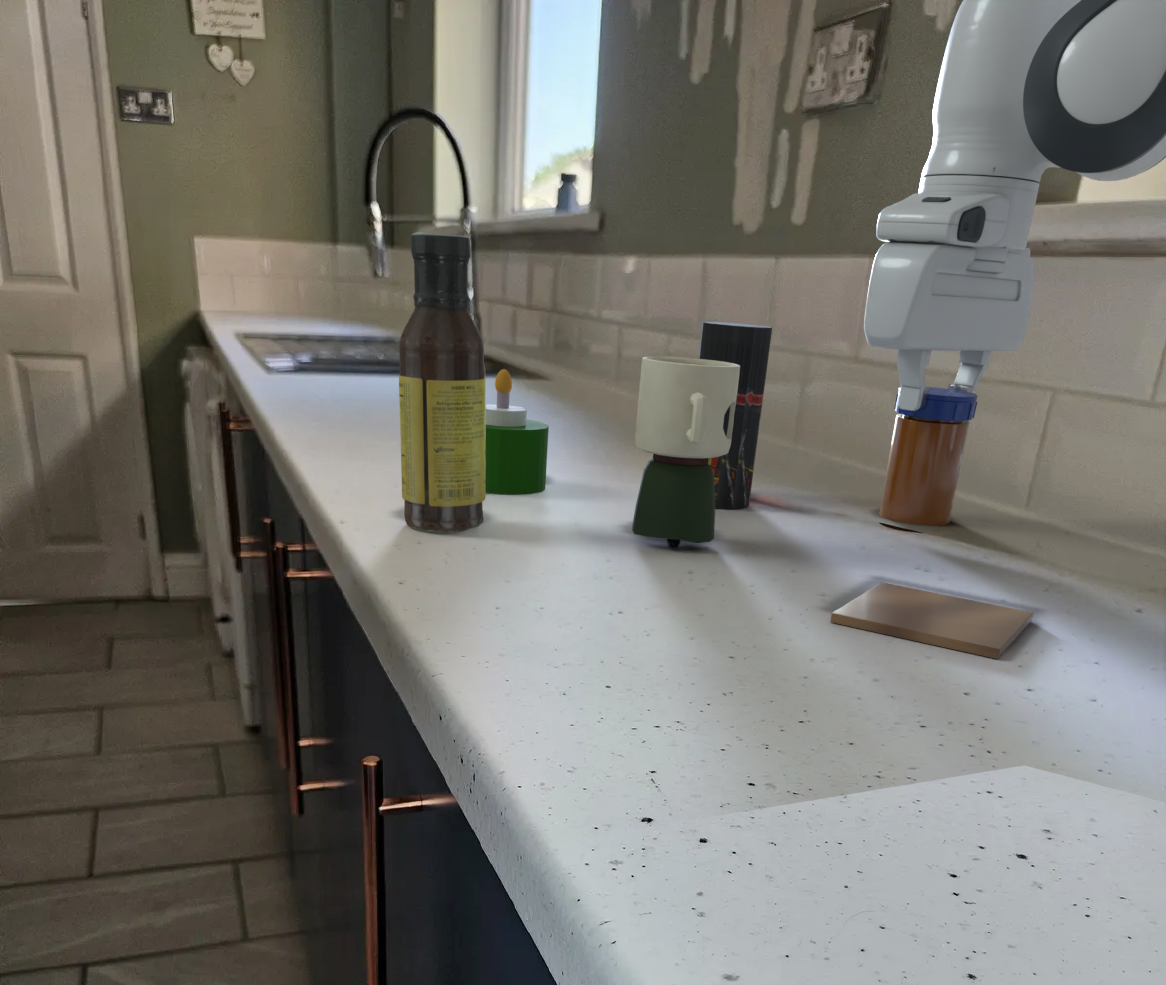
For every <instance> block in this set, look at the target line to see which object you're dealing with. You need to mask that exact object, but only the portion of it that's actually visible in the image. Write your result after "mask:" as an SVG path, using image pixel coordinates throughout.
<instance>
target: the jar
mask: <svg viewBox="0 0 1166 985" xmlns="http://www.w3.org/2000/svg"><path fill="white" fill-rule="evenodd" d="M970 423H971V422H970V420H969V421H945V420H934V419H925V418H918V417H912V416H907V415H903V414H900V413H897V414H896V416H895V421H894V427H893V432H892V439H891V443H890V450H889V456H888V462H887V466H886V467H887V468H886V473H885V480H884V484H883V490H882V491H883V492H882V497H881V502H880V509H879V515H880V516H881V517H882V518H885V519H888V520H892V521H896V522H898V523H899V522H900V523H905V524H912V525H921V526H945V525H948V524H950V523H951V517H952V514H953V508H954V503H955V498H956V493H957V488H958V484H959V478H960V472H961V468H962V464H963V459H964V454H965V448H966V443H967V439H968V434H969V429H970ZM878 524H879V525H881V526H883V527H885V528H888V529H892V530H897V531H901V532H905V533H906V532H907V533H916V534H924V532H922V531H918V530H915V529H909V528H906V527H901V526H897V525H896V526H895V525H892V524H888V523H884V522H879V521H878Z"/></svg>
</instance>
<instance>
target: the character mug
mask: <svg viewBox="0 0 1166 985" xmlns="http://www.w3.org/2000/svg"><path fill="white" fill-rule="evenodd" d="M640 365H641V367H640V378H639V388H638V399H637V400H638V401H637V410H636V411H637V412H636V423H635V435H634V447H636V448H637V449H639V450H641V451H643V452H645V453H648V454H652V458H651V459H649V460H648V462H647V463H646V465H645V467H644V469H643V472H642V476H641V480H640V485H639V490H638V494H637V498H636V501H635V502H636V503H635V506H634V514H633V518H632V523H631V524H632V525H631V531H632V533H633V534H634V535H638V536H641V537H647V538H655V539H667V540H671V545H672V546H673V547H678V546H679V545H680V543H681V541H683V542H689V543H693V544H694V543H695V544H703V543H710V542H711V541H713V540H714V539H715V527H716V508H715V486H714V473H713V470H712V467H711V466H710V465H711V458H714V457H719V456H722V455H725V454H727V453H728V452H729V449H730V446H731V440H732V430H733V421H734V413H735V406H736V398H737V390H738V382H739V374H740V365H737V364H734V363H729V362H722V361H715V360H705V359H699V358H693V357H684V356H667V355H666V356H664V355H663V356H662V355H651V356H643V357H642V359H641V364H640Z"/></svg>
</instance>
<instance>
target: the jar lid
mask: <svg viewBox="0 0 1166 985" xmlns="http://www.w3.org/2000/svg"><path fill="white" fill-rule="evenodd" d="M925 387H926V388H930V390H929V395H928V398H927V405H926V407H925V408H924V409H923V410H916V411H910V410H904V409H900V407H899V405H898V401H899V396H900V390H901V386H899V387H898V393H896V398H895V402H894V408H893V410H894V411H895V413H897V414H903V415H907V416H912V417H918V418H925V419H934V420H945V421H969V422H970V421H972V420H973V419H975V414H976V412H977V411H976V410H977V407H978V406H977V405H978V396H979V395H978V394H976V393H975V394H974V393H970V392H965V391H959V390H953V389H948V388H944V387H936V386H935V387H933V386H925Z"/></svg>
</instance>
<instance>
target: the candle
mask: <svg viewBox="0 0 1166 985" xmlns="http://www.w3.org/2000/svg"><path fill="white" fill-rule="evenodd" d="M494 382H495V383H494V386H495V387H494V388H495V390H496V404H486V470H485V494H488V495H489V494H490V495H501V496H502V495H503V496H523V495H535V494H539V493H542V492H544V491H545V490H546V484H547V465H548V464H547V463H548V446H549V445H548V444H549V429H550V428H549V427H550V426H549V424H547V423H545V422H542V421H537V420H531V419H527V413H528V411H527V410H528V408H526V407H523V406H517V405H510V393H511V391H512V388H513V381H512V377H511V374H510V371H508V370H507V369H505V368H503V369H500V370H499V372H498V373H497V375H496V378H495V381H494Z"/></svg>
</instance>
